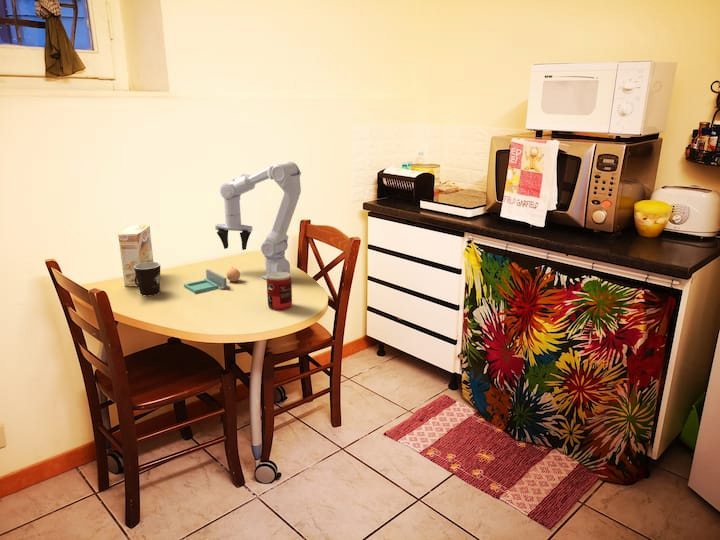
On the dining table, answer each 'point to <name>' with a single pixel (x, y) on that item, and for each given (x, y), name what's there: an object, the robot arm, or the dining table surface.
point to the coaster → (201, 286)
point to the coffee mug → (148, 277)
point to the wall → (216, 279)
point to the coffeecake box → (134, 250)
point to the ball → (233, 274)
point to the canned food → (279, 290)
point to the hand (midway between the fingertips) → (235, 248)
